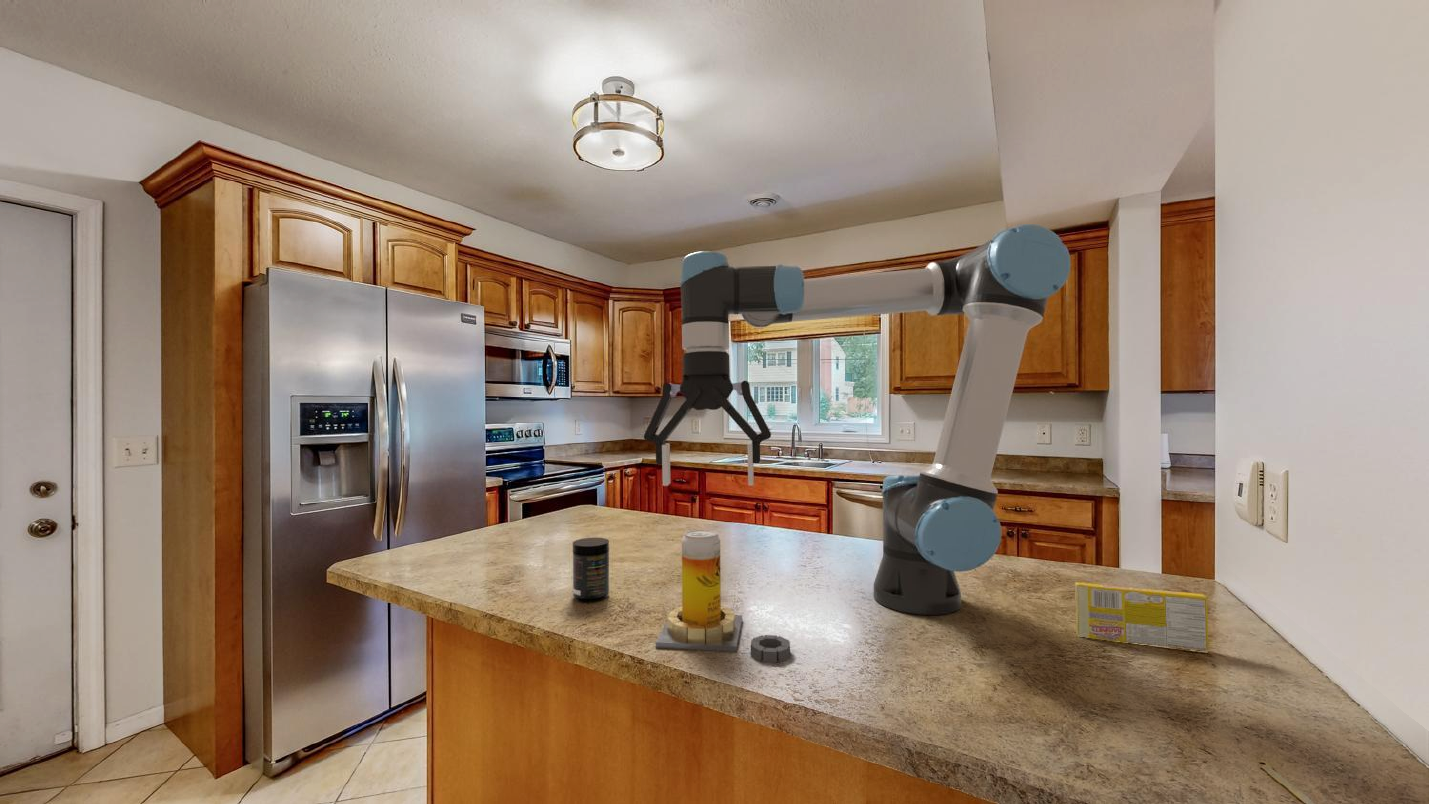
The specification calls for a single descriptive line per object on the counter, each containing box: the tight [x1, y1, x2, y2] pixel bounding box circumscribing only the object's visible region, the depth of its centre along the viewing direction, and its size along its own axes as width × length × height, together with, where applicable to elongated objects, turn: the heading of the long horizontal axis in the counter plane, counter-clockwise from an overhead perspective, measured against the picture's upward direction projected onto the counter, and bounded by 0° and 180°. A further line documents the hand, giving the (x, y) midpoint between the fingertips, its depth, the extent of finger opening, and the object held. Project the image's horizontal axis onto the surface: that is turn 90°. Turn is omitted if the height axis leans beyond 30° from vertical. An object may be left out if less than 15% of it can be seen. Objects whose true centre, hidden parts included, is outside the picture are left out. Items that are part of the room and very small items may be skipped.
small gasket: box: [750, 634, 791, 664], centre depth 82 cm, size 6×6×2 cm
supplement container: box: [572, 537, 610, 604], centre depth 106 cm, size 7×7×10 cm
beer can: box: [681, 528, 722, 625], centre depth 89 cm, size 6×6×15 cm
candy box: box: [1074, 582, 1210, 652], centre depth 85 cm, size 16×2×8 cm, turn 68°
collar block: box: [655, 605, 743, 653], centre depth 89 cm, size 12×12×3 cm
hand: (708, 484), depth 90 cm, fingers open, 13 cm apart
